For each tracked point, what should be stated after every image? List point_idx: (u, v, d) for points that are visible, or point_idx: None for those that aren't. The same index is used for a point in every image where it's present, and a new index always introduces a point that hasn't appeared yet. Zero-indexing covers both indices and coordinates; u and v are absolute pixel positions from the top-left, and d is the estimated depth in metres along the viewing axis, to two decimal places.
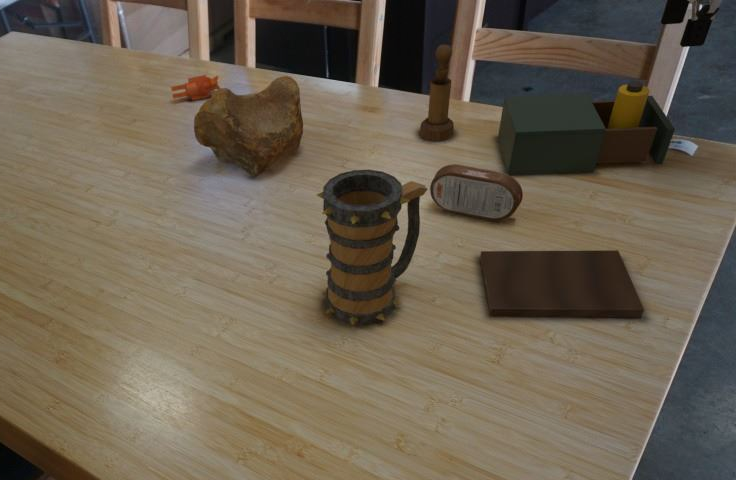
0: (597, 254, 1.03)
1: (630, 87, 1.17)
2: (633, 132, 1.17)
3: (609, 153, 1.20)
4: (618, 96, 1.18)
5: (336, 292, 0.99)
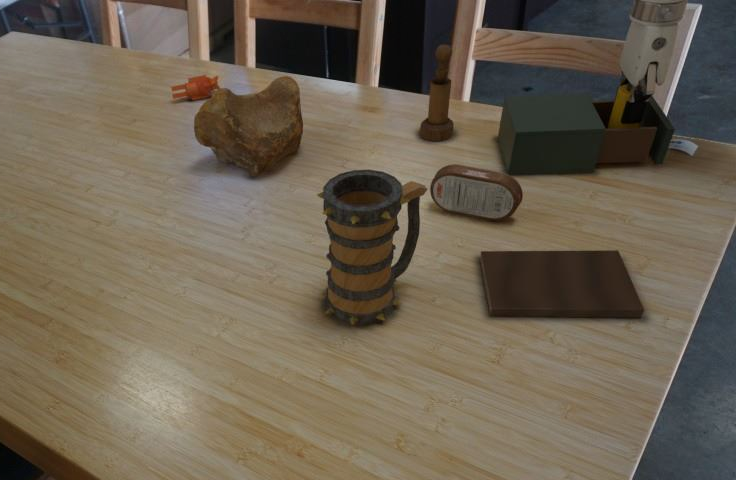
0: (597, 254, 1.03)
1: (630, 87, 1.17)
2: (633, 132, 1.17)
3: (609, 153, 1.20)
4: (618, 96, 1.18)
5: (336, 292, 0.99)
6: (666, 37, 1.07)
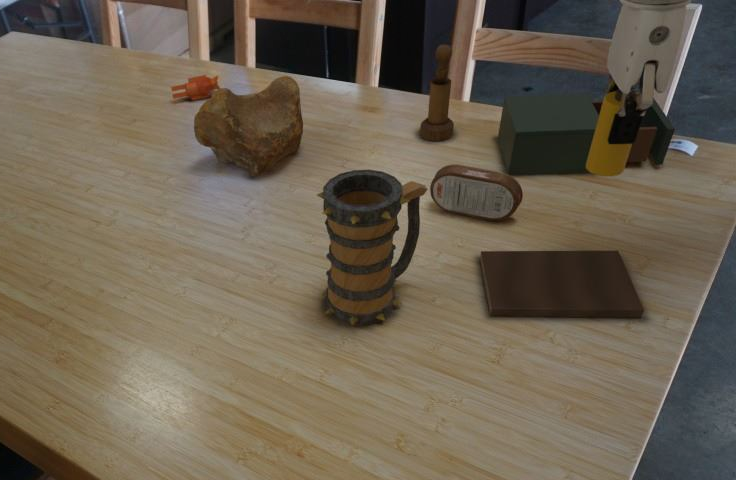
0: (597, 254, 1.03)
1: (620, 95, 0.86)
2: None
3: None
4: (603, 107, 0.88)
5: (336, 292, 0.99)
6: (669, 26, 0.76)
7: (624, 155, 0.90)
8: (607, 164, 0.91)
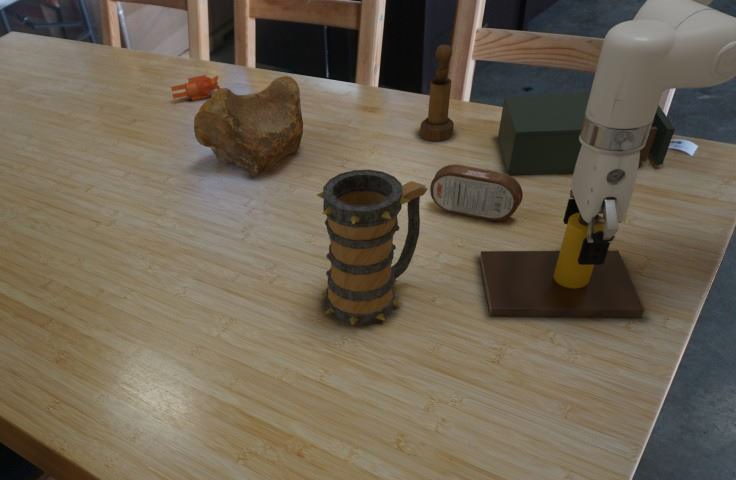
0: None
1: (582, 220, 0.92)
2: None
3: None
4: (568, 229, 0.93)
5: (336, 292, 0.99)
6: (625, 169, 0.82)
7: (588, 270, 0.96)
8: (573, 278, 0.97)
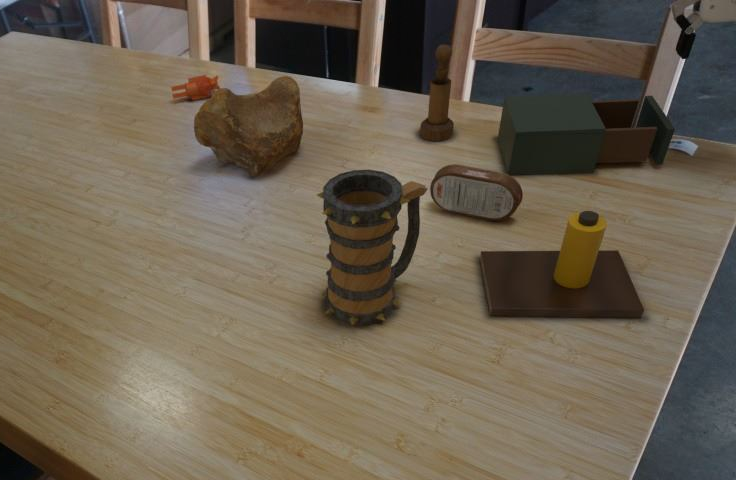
0: None
1: (582, 220, 0.92)
2: (633, 132, 1.17)
3: (609, 153, 1.20)
4: (568, 229, 0.93)
5: (336, 292, 0.99)
6: None
7: (588, 270, 0.96)
8: (573, 278, 0.97)
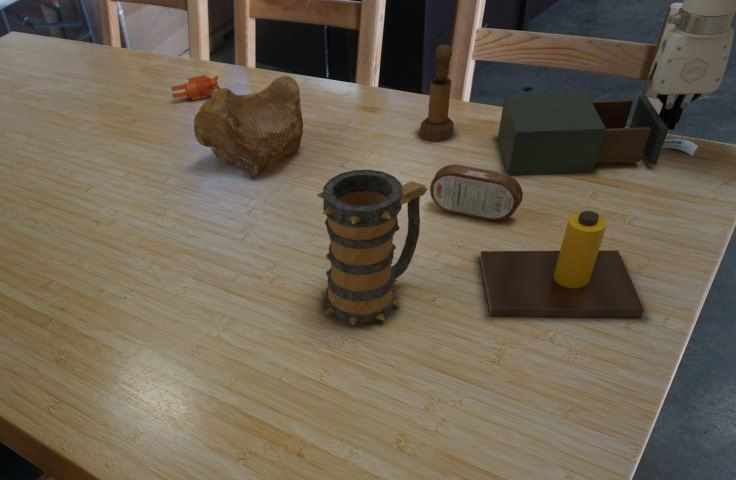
0: None
1: (582, 220, 0.92)
2: (627, 132, 1.17)
3: (603, 153, 1.20)
4: (568, 229, 0.93)
5: (336, 292, 0.99)
6: (666, 42, 1.11)
7: (588, 270, 0.96)
8: (573, 278, 0.97)
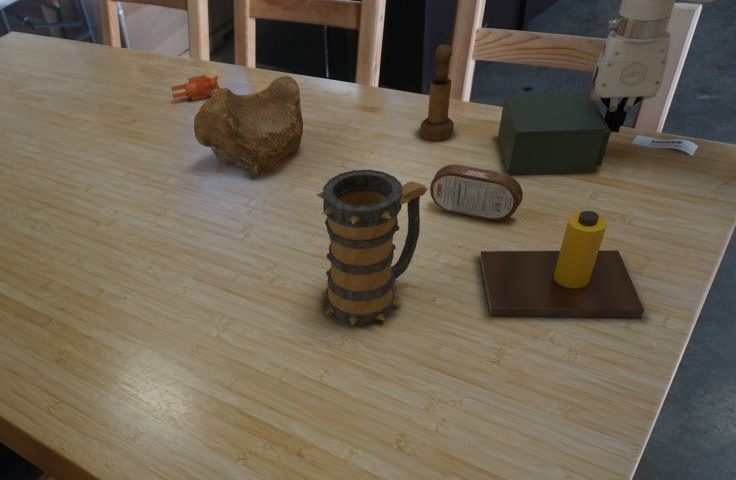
0: None
1: (582, 220, 0.92)
2: None
3: None
4: (568, 229, 0.93)
5: (336, 292, 0.99)
6: (606, 46, 1.13)
7: (588, 270, 0.96)
8: (573, 278, 0.97)
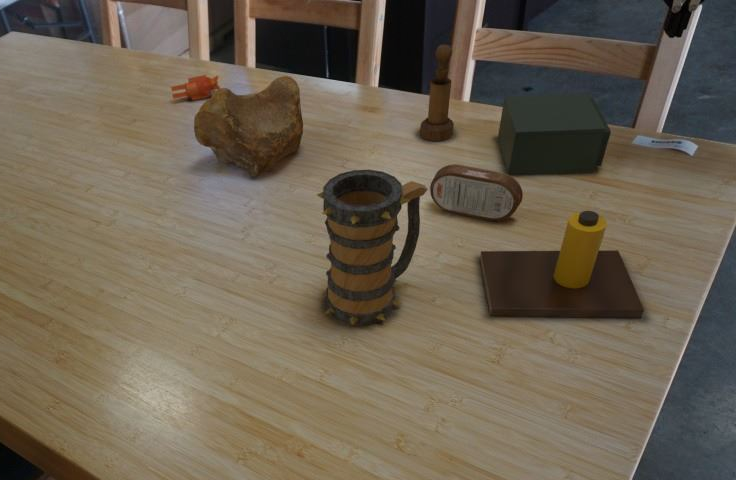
0: None
1: (582, 220, 0.92)
2: None
3: None
4: (568, 229, 0.93)
5: (336, 292, 0.99)
6: None
7: (588, 270, 0.96)
8: (573, 278, 0.97)
